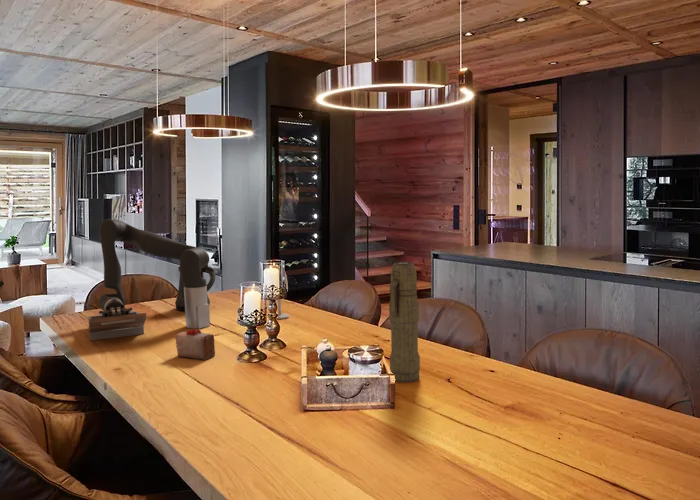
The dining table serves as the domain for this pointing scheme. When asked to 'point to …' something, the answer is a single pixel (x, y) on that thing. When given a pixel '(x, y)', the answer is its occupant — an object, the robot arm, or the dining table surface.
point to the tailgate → (117, 322)
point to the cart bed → (115, 331)
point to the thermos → (404, 322)
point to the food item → (195, 344)
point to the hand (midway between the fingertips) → (117, 316)
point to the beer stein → (180, 297)
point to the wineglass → (280, 315)
